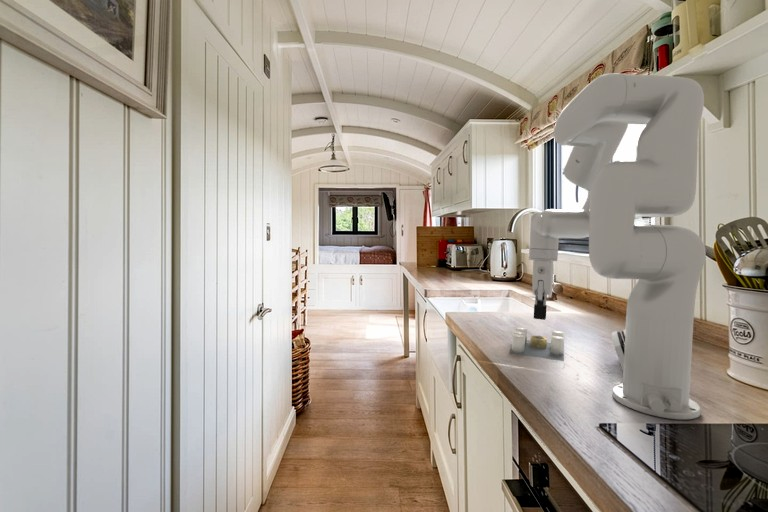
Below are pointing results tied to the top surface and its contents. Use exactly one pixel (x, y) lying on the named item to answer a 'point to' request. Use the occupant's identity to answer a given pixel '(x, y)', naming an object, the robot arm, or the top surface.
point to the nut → (538, 342)
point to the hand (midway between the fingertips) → (539, 318)
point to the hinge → (619, 346)
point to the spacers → (521, 339)
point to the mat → (540, 352)
